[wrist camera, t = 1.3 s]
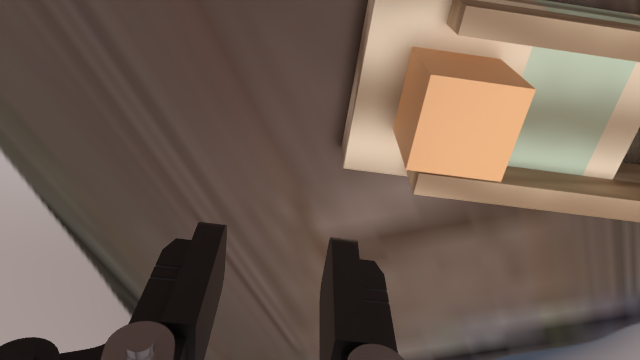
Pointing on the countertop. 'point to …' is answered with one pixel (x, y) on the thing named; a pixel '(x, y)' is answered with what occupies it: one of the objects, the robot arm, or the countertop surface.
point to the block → (460, 114)
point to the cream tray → (545, 109)
